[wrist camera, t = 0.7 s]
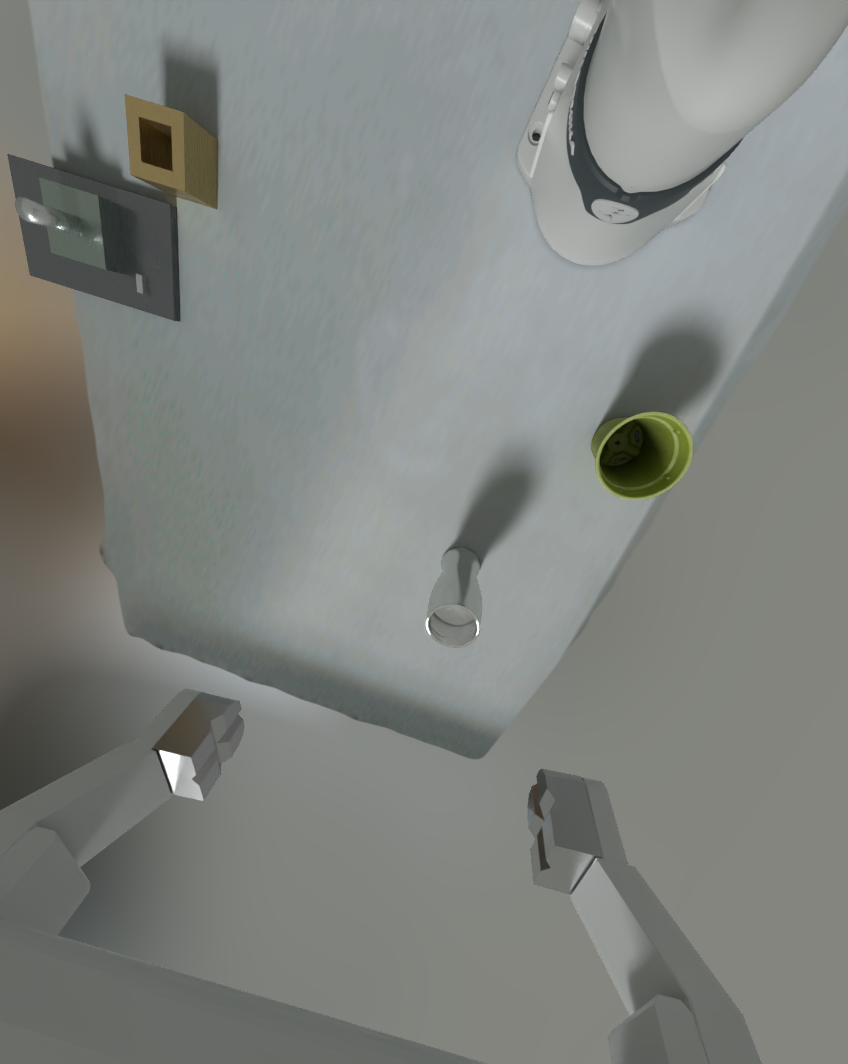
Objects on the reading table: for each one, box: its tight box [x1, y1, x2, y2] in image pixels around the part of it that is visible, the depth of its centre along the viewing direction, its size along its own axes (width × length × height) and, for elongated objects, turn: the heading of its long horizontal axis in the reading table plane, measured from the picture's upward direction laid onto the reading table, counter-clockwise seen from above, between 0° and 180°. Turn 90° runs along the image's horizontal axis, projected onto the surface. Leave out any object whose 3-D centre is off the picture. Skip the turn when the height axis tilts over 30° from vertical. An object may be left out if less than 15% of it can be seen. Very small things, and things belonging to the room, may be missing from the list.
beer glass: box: [426, 547, 482, 648], centre depth 51 cm, size 7×7×15 cm
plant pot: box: [591, 411, 693, 500], centre depth 42 cm, size 9×9×9 cm
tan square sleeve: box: [125, 94, 218, 209], centre depth 39 cm, size 6×6×5 cm
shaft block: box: [8, 154, 180, 321], centre depth 42 cm, size 12×20×8 cm, turn 74°
